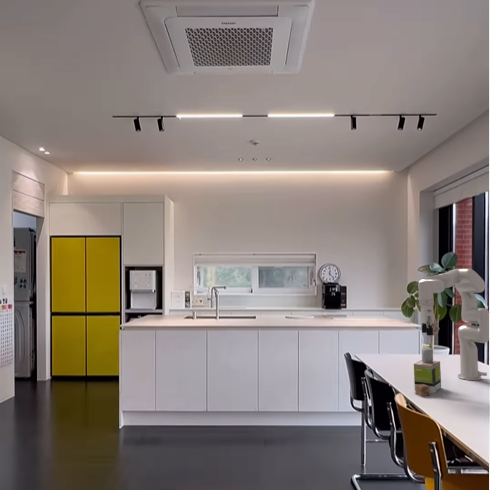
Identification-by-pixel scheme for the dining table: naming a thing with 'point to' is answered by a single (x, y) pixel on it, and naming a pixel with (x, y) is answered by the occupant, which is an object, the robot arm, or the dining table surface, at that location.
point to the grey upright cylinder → (427, 355)
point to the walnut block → (422, 390)
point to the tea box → (428, 374)
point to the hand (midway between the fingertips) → (427, 333)
